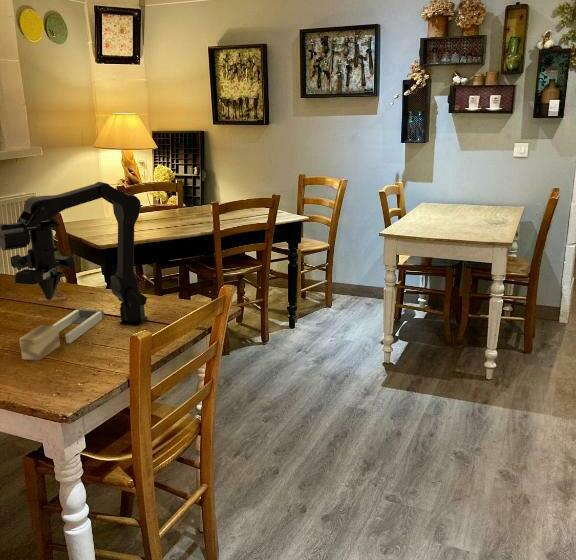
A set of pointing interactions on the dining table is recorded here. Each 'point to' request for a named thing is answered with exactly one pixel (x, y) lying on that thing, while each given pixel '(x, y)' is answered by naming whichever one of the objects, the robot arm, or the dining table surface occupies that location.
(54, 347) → the birch block
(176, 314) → the dining table surface
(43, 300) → the gingerbread man figurine
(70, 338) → the channel
